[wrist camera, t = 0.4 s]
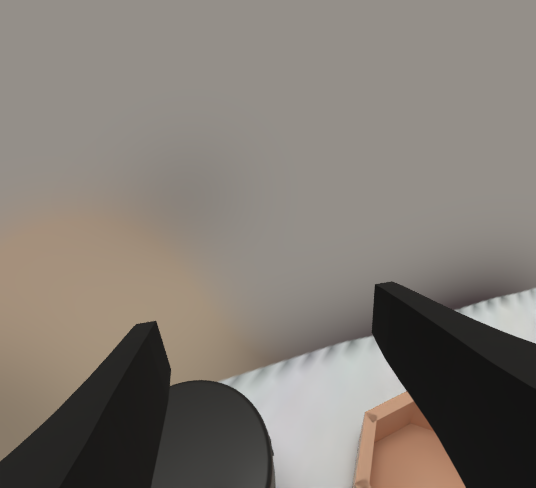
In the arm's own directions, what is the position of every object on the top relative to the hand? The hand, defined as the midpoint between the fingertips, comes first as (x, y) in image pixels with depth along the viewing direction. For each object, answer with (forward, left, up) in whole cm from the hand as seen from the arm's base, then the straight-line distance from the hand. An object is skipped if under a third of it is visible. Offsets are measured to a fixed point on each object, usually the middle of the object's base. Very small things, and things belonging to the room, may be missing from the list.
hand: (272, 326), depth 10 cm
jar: (+1, +5, -19) cm, 20 cm away
